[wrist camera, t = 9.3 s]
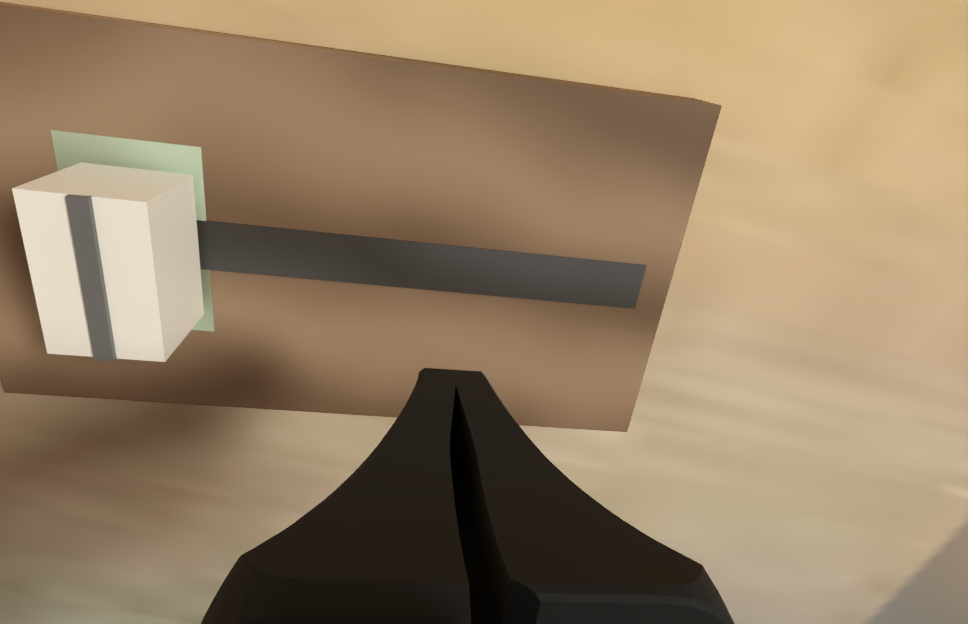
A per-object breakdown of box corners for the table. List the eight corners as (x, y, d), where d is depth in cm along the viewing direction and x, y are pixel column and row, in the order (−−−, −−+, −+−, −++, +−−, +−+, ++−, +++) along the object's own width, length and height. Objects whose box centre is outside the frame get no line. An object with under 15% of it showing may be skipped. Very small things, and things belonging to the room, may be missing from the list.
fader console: (612, 402, 24) (627, 432, 22) (40, 361, 22) (3, 392, 20) (694, 98, 19) (722, 106, 17) (-41, -4, 16) (-101, -8, 15)
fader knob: (203, 314, 19) (162, 364, 16) (104, 305, 18) (43, 356, 16) (192, 174, 17) (144, 204, 14) (81, 162, 16) (7, 190, 14)
